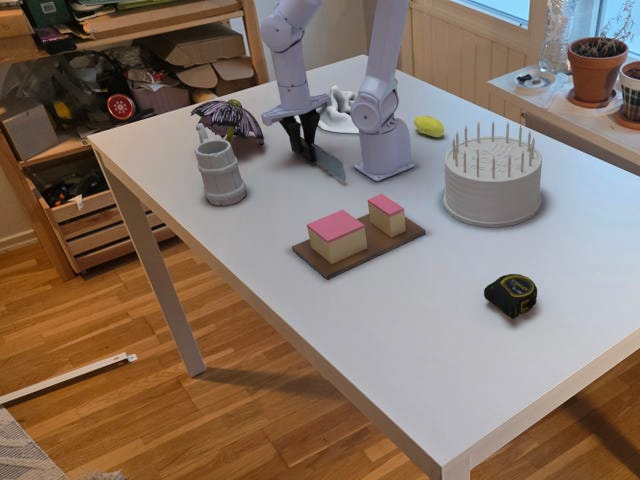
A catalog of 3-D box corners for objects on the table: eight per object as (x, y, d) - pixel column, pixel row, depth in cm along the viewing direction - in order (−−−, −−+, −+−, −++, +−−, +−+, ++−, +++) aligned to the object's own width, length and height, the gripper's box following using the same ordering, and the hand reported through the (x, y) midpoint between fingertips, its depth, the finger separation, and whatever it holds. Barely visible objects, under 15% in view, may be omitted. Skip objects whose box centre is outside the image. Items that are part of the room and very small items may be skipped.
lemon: (435, 142, 137) (434, 125, 135) (409, 132, 142) (408, 114, 139) (449, 136, 140) (448, 118, 137) (423, 125, 144) (422, 108, 141)
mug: (213, 211, 119) (194, 149, 111) (194, 185, 127) (175, 125, 118) (253, 198, 122) (237, 137, 114) (232, 174, 130) (216, 115, 121)
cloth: (278, 113, 150) (272, 87, 146) (341, 90, 160) (338, 64, 155) (337, 142, 139) (332, 114, 134) (401, 115, 148) (399, 88, 144)
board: (388, 209, 118) (388, 205, 118) (425, 233, 112) (425, 229, 112) (292, 250, 109) (291, 246, 109) (327, 279, 103) (326, 275, 103)
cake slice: (384, 216, 115) (381, 193, 112) (405, 231, 111) (404, 208, 108) (370, 222, 114) (367, 199, 111) (391, 237, 110) (389, 214, 107)
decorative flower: (277, 101, 131) (202, 96, 122) (280, 161, 135) (207, 161, 126) (251, 100, 142) (180, 96, 133) (254, 156, 146) (185, 155, 137)
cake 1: (346, 232, 112) (342, 209, 108) (367, 248, 108) (364, 224, 105) (311, 247, 108) (306, 224, 105) (331, 264, 105) (327, 240, 102)
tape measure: (481, 302, 98) (481, 282, 95) (516, 286, 101) (518, 266, 98) (509, 326, 94) (510, 306, 91) (545, 308, 97) (547, 288, 94)
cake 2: (553, 187, 122) (560, 119, 113) (520, 236, 111) (525, 163, 102) (467, 170, 128) (466, 103, 119) (426, 214, 117) (423, 144, 107)
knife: (300, 148, 136) (296, 129, 133) (349, 179, 125) (346, 159, 122) (291, 151, 135) (287, 132, 132) (340, 182, 124) (337, 162, 121)
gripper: (314, 66, 128) (324, 132, 138) (247, 85, 122) (263, 153, 131) (333, 76, 124) (342, 143, 134) (265, 96, 118) (280, 165, 127)
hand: (304, 149), depth 132 cm, fingers closed on knife, 2 cm apart
